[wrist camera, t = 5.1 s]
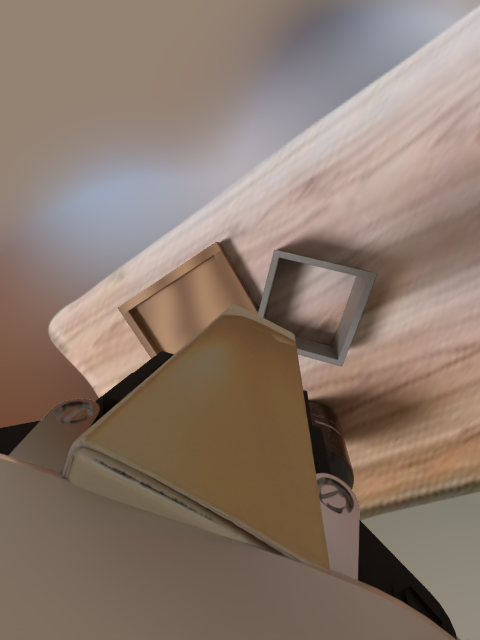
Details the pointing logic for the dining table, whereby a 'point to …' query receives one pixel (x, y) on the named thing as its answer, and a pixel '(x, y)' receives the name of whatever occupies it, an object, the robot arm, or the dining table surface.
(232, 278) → the tray
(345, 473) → the supplement bottle
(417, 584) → the robot arm
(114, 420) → the skincare box
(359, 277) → the holder
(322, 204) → the dining table surface
